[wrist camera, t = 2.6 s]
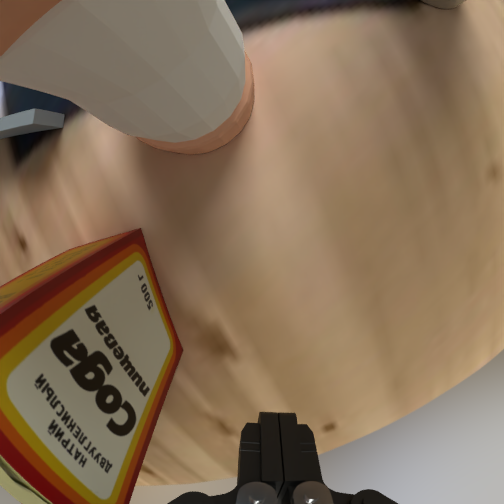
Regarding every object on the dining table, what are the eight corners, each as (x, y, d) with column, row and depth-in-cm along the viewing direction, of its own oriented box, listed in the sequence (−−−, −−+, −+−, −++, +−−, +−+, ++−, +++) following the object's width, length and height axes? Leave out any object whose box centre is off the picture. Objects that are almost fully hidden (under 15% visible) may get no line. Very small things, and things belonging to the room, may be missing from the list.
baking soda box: (183, 350, 20) (114, 551, 5) (113, 356, 21) (20, 509, 5) (141, 228, 18) (-72, 371, 2) (69, 249, 18) (-101, 357, 3)
